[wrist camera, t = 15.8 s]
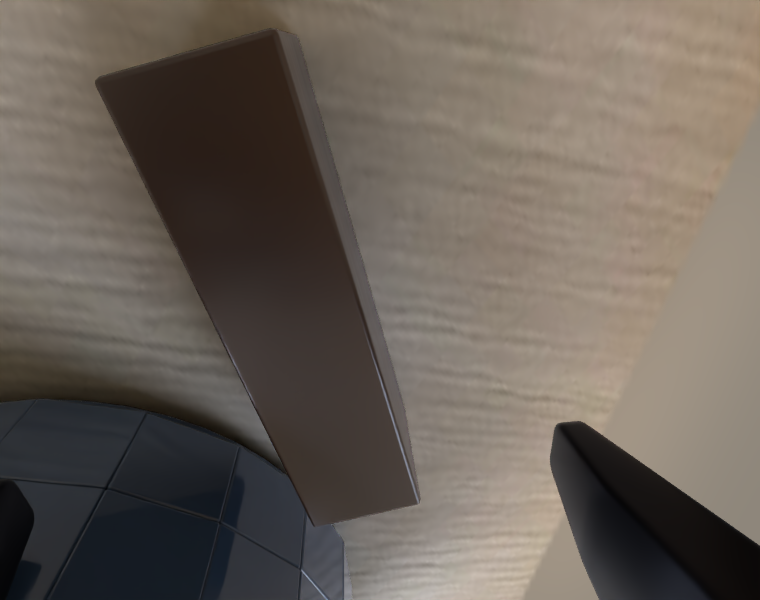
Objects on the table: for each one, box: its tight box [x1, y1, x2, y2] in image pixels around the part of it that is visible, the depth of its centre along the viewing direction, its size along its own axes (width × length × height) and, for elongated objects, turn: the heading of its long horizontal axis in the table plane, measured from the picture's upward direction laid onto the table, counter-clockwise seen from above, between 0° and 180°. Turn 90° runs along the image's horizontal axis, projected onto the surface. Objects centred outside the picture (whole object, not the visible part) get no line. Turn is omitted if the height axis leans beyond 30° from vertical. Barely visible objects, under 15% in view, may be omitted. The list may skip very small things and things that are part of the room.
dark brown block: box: [95, 28, 421, 527], centre depth 9 cm, size 2×9×3 cm, turn 14°
